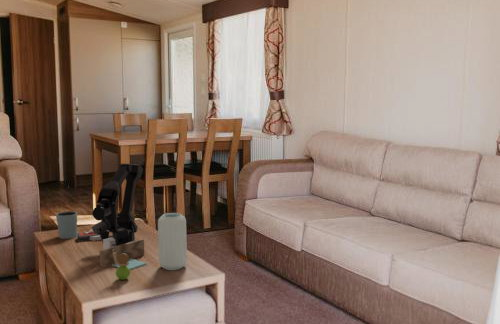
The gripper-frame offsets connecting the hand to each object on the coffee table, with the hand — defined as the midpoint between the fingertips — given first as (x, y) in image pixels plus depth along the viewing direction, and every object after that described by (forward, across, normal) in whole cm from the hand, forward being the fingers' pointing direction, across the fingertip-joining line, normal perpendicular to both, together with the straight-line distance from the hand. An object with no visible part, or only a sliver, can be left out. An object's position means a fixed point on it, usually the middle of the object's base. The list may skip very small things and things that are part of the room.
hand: (111, 248), depth 227 cm
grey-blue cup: (+3, -41, +3) cm, 41 cm away
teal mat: (+2, +18, -4) cm, 19 cm away
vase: (+3, +34, +6) cm, 35 cm away
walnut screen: (+2, +11, -2) cm, 11 cm away
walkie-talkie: (+3, -27, +11) cm, 29 cm away
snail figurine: (+3, +29, -16) cm, 33 cm away
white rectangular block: (+3, 0, 0) cm, 3 cm away
